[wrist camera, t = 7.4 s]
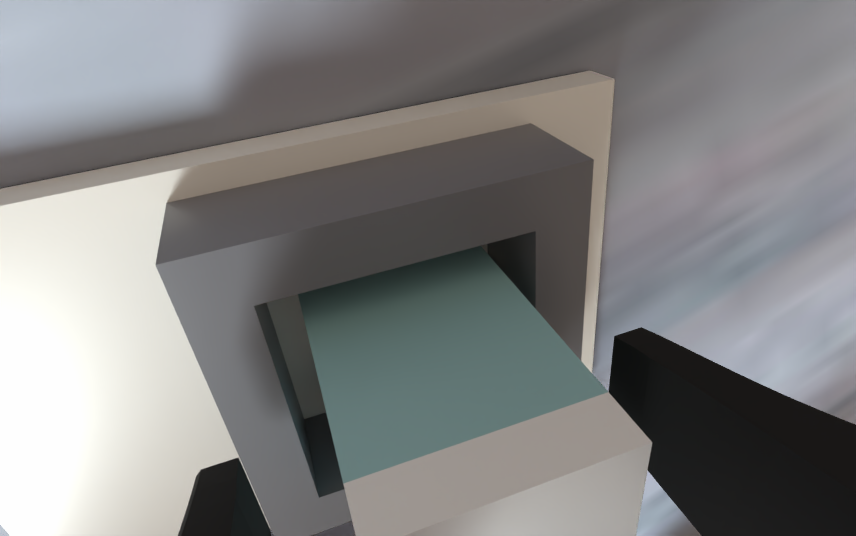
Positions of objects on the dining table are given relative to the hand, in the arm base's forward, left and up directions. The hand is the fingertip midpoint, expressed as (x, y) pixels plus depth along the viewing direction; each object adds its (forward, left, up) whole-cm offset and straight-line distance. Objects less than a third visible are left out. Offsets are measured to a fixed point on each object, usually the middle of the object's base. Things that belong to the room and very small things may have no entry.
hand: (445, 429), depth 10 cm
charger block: (0, 0, -4) cm, 4 cm away
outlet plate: (-1, +2, -5) cm, 6 cm away
